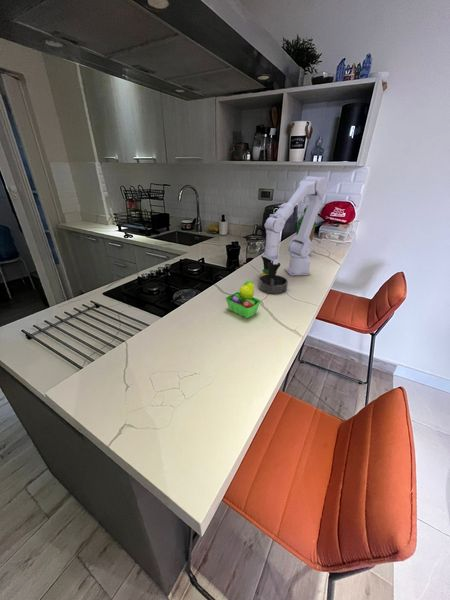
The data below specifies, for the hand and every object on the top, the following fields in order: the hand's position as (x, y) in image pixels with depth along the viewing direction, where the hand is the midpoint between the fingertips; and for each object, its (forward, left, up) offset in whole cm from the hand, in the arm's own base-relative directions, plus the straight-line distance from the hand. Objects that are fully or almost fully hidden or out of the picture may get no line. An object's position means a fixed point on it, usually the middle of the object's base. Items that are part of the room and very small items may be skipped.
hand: (269, 273), depth 121 cm
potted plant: (-31, -35, -3) cm, 47 cm away
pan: (+1, +9, -3) cm, 10 cm away
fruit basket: (+18, +27, -3) cm, 33 cm away
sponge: (0, 0, -3) cm, 3 cm away
